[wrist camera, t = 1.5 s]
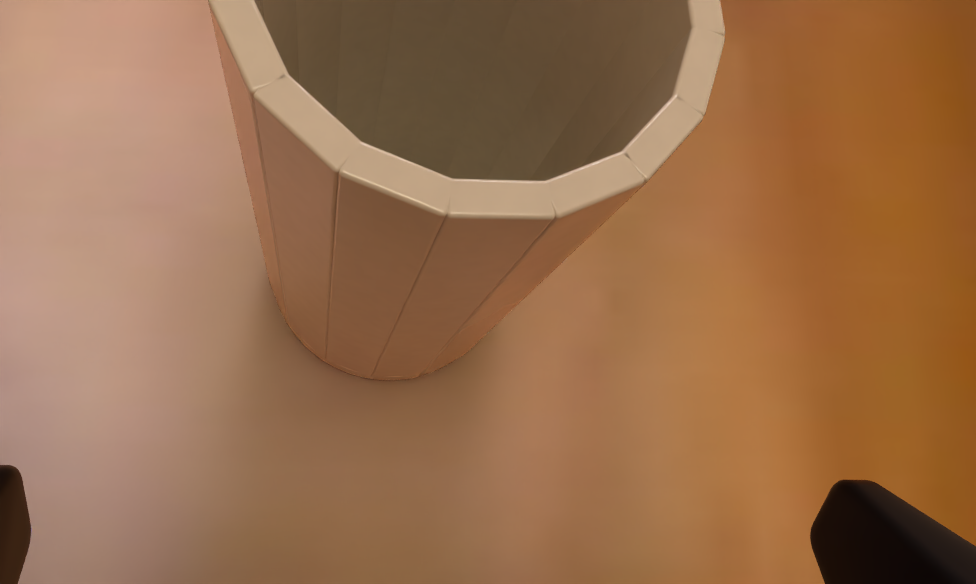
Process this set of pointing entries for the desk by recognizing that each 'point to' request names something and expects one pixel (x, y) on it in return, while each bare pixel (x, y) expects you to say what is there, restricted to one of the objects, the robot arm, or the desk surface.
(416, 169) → the cup
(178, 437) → the desk surface
